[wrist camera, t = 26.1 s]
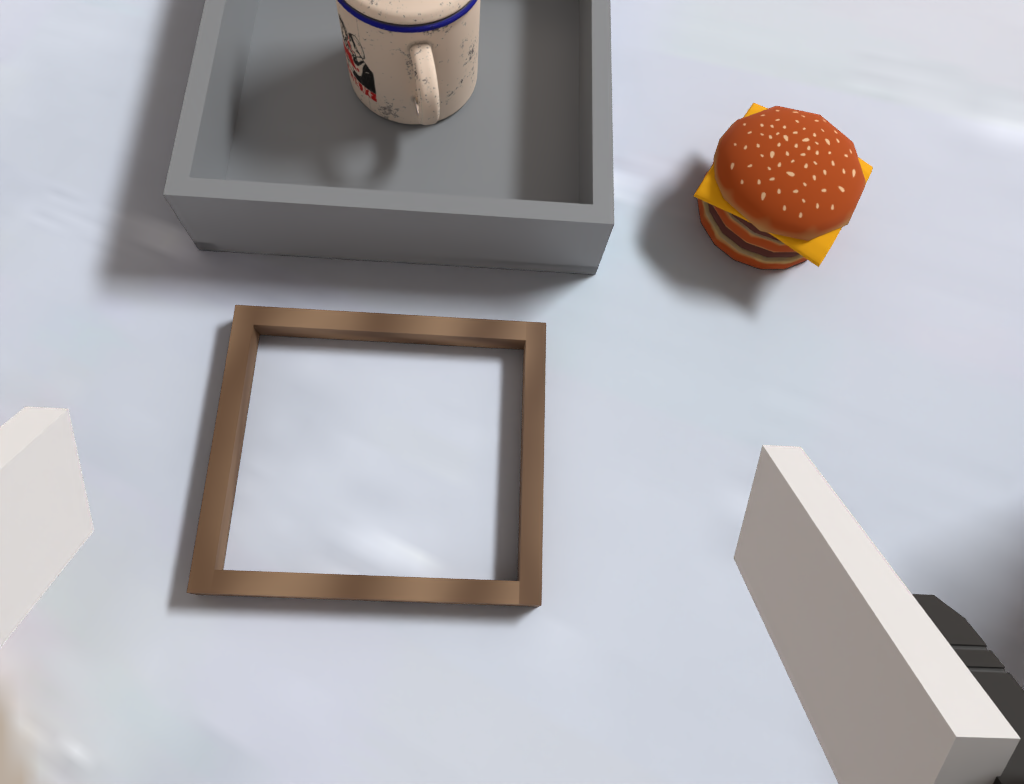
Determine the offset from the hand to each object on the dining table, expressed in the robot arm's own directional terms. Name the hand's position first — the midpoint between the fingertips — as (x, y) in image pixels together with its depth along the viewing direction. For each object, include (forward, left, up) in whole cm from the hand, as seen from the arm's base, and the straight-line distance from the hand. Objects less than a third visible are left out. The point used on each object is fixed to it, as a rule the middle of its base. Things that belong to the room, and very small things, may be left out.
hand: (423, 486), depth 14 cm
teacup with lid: (+4, -32, -27) cm, 42 cm away
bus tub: (+4, -32, -28) cm, 43 cm away
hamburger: (-20, -25, -28) cm, 43 cm away
